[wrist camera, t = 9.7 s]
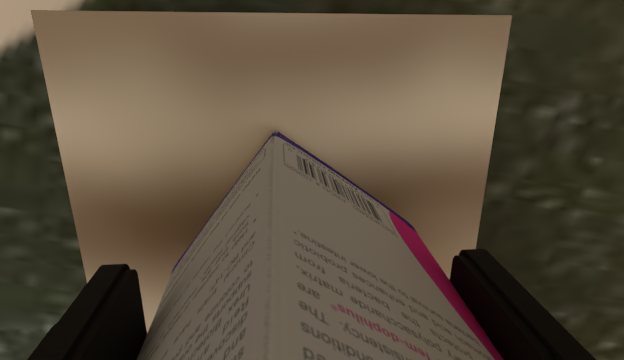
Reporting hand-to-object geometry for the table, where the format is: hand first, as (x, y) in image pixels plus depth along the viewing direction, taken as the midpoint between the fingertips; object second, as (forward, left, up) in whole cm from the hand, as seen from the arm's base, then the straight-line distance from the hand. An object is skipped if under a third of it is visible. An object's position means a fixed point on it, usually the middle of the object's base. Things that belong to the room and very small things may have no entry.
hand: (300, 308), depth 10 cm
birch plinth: (0, 0, -9) cm, 9 cm away
